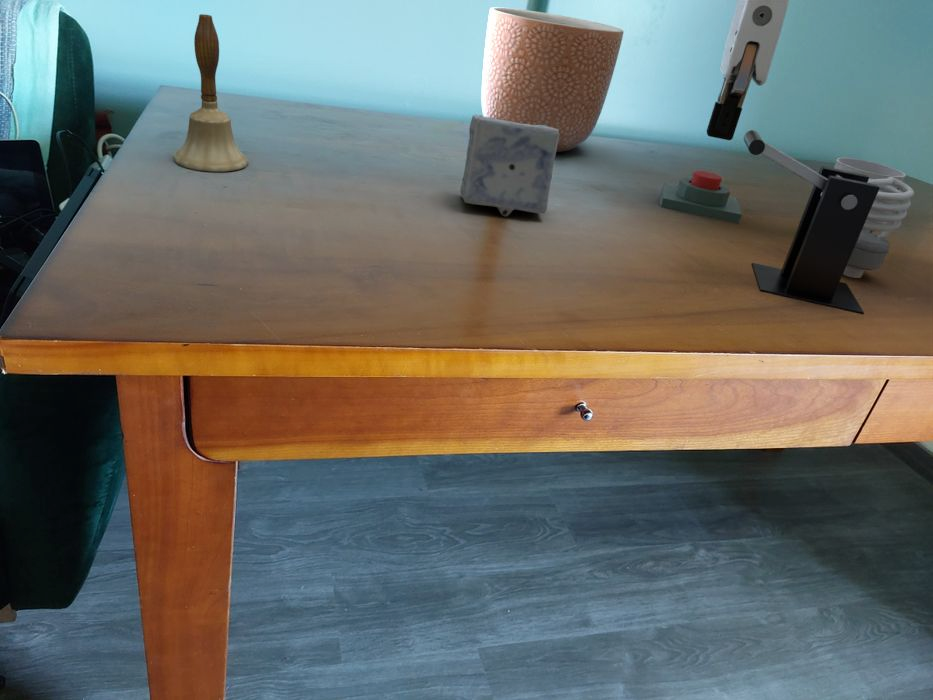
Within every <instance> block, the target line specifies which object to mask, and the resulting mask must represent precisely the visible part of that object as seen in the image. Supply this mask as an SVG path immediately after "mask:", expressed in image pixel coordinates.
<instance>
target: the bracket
mask: <svg viewBox="0 0 933 700" xmlns="http://www.w3.org/2000/svg"><path fill="white" fill-rule="evenodd" d="M818 173H819V174H821V175H822V176H824V177H826V178H827V179H828V180H827V183H826V185H825V188H824V190H822V189H820V188H818V187H817V186H815V185H813V187H812V189H811V191H810V194H809V197H808V199H807V202H806V206H805V207H804V210H803V213H802V214H801V215H802V216H801V217H800V220H799V223H798V225H797V229H796V230H795V234H794V237H793V239H792V242H791V244H790V247H789V250H788V252H787V253H786V256H785V260H784V262H783V264H782V268H779V267H774V266H770V265H765V264H760V263H756V262H752V263H751V268H752V270H753V274H754V277H755V280H756V281H755V282H756V283H757V287H758V290H759V292H761V293H766V294H770V295H775V296H779V297H783V298H788V299H793V300H797V301H802V302H806V303H810V304H815V305H820V306H824V307H829V308H832V309H837V310H842V311H846V312H851V313H854V314H859V315H864V314H865V312H864V309H863V308H862V307H861V304H860V303H859V301H858V300H857V298H856V296H855V295H854V293H853V291H852V289H851V288H850V287H849V285H848V283H846V282H842V281H841V279H842V277H843V273H844V270H845V268H846V266H847V263H848V261H849V259H850V256H851V254H852V252H853V249H854V247H855V245H856V242H857V240H858V238H859V235H860V233H861V231H862V228H863V226H864V224H865V221H866V219H867V217H868V214H869V212H870V210H871V207H872V205H873V203H874V201H875V198H876V196H877V194H878V191H879V189H880V187H879V186H878V185H875V184H870V183H867V182H868V180H869V177H868V176H867V175H864V174H859V173H854V172H849V171H844V170H839V169H834V167H830V166H829V167H828V166H822V165H821V167H820V169H819V172H818ZM836 174H837V175H839V176H841V177H842V178H840V177H835V175H836ZM822 191H823V193H822ZM821 193H822V195H821V196H820V194H821Z"/></svg>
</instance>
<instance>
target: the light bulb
mask: <svg viewBox="0 0 933 700" xmlns="http://www.w3.org/2000/svg"><path fill="white" fill-rule="evenodd" d="M867 183H870V184H875V185H878V186H879V187H880V189H879V190H881V191H884V192H878V194H877V196H876V198H875V200H877V201H879V202H882V203H875V202H874V203H873V205H872V207H871V210H873V211H875V212H878V213H880V214H874V213H869V214H868V217H867V219H866V220H868V221H871V222H873V223H875V224H869V223H865V224H864V226H863V228H862V230H869V231H874V232H881V234H875V233H869V232H866V231H861V233H860V235H859V238H858V240H857V242H856V245H855V247H854V249H853V252H852V254H851V256H850V259H849V261H848V263H847V266H846V268H845V270H844V273H843V275H844V276H847V277H850V278H854V279H860V278H862V276H863V275H864V273H865V271H874V270H878V269H879V268H880V267H881V266H882V263H883V262H884V261H885V259H886V257H887V255H888V253H889V251H890V248H891V243H890V242H889V241H888V240H887V239H888V236H889V234H890V232H892V231H895V230H897V229H899V228H900V227H901V226H902V220H904V219H905V218H906V217H907V215H908V209H909V208H910V207H911V205H912V202H911V201H912V200H911V198H912V197H914V195H915V191H914V190H913V188H912V187H911V186H909V185H908V184H907V183H905V182H904V181H903V182H902V181H900V180H898V179H896V178H893V177H889V178H887V179H869V180H868V182H867ZM889 185H893V186H895V187H897V188H899V190H897V189H895V188H893V187H891V186H889ZM885 192H886V193H885ZM900 201H901V203H899V202H900ZM883 203H884V204H883ZM892 211H894V212H892ZM895 212H897V213H895ZM843 275H842V276H843Z"/></svg>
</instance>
